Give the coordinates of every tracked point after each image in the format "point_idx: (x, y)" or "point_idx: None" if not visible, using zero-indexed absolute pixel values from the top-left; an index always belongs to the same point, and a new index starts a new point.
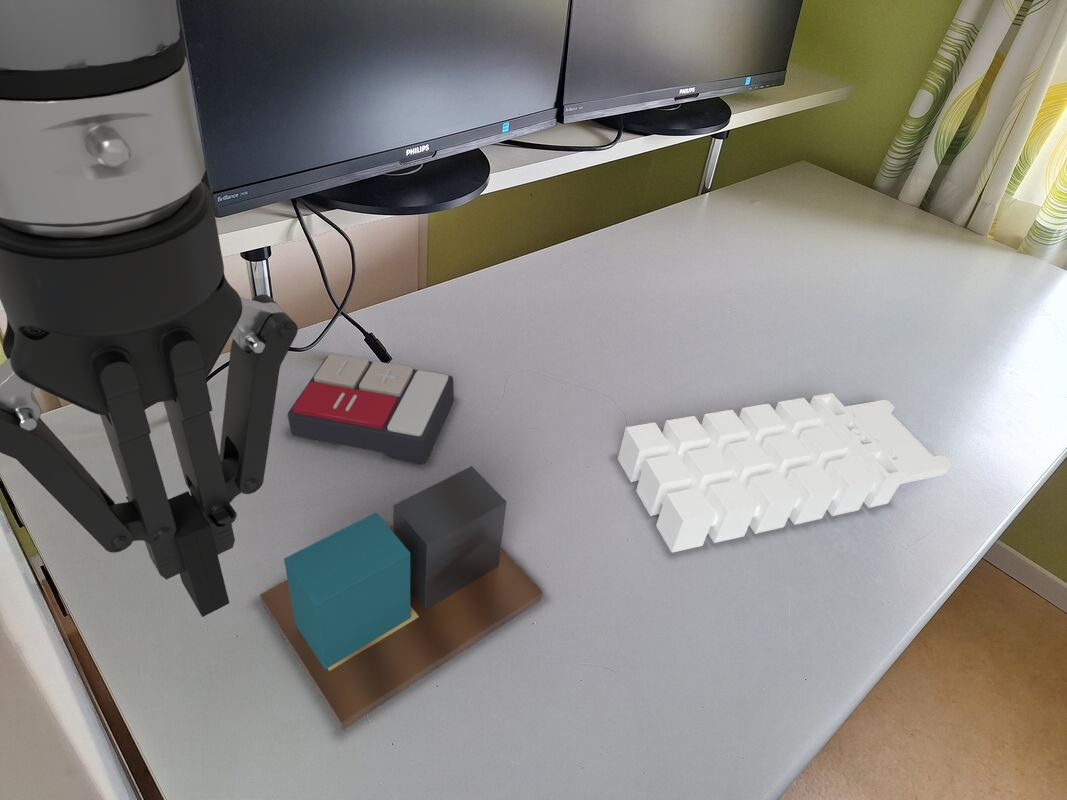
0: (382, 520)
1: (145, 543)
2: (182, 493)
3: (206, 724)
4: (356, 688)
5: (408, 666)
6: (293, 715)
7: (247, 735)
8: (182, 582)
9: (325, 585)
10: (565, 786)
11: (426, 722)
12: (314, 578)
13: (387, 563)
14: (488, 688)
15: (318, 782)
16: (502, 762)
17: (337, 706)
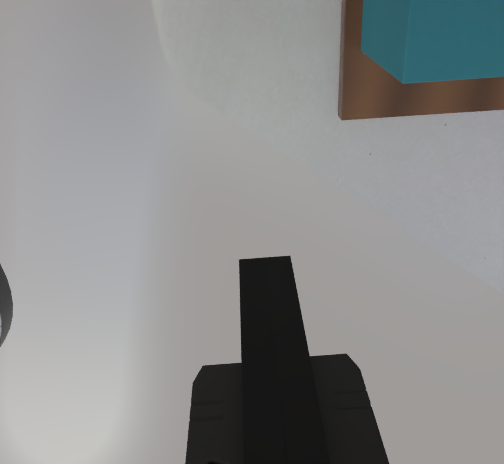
0: None
1: (189, 424)
2: (314, 462)
3: (219, 24)
4: (375, 91)
5: (437, 100)
6: (304, 69)
7: (253, 63)
8: (239, 263)
9: (433, 59)
10: (461, 262)
11: (409, 153)
12: (429, 35)
13: None
14: (483, 156)
15: (292, 149)
16: (436, 220)
17: (347, 100)
